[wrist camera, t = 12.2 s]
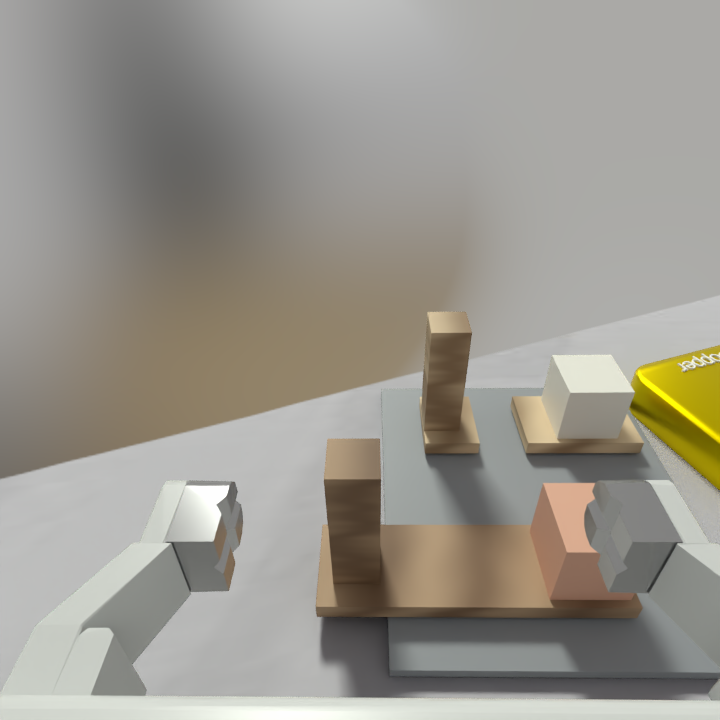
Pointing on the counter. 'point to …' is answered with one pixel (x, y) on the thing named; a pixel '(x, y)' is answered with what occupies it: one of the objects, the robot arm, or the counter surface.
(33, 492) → the counter surface
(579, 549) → the terracotta block
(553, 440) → the broken oak strip
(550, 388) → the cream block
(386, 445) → the slate board
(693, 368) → the element tile
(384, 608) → the wooden l-shaped stand
